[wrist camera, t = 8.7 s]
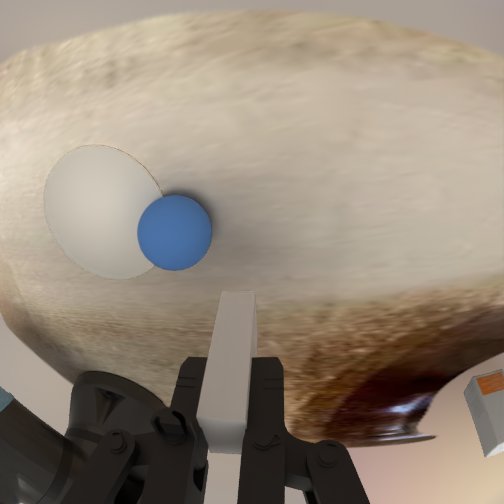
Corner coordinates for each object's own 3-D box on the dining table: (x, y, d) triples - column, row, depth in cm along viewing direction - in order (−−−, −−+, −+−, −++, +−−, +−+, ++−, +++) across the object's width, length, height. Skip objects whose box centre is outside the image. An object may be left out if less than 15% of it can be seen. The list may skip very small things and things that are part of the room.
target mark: (105, 297, 31) (104, 298, 31) (25, 201, 26) (24, 202, 25) (200, 238, 26) (199, 239, 26) (104, 112, 21) (103, 113, 21)
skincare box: (502, 367, 34) (531, 430, 23) (492, 384, 36) (516, 446, 26) (471, 375, 34) (498, 445, 24) (461, 393, 37) (484, 459, 26)
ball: (219, 277, 24) (179, 252, 28) (233, 206, 23) (189, 189, 26) (156, 288, 20) (122, 257, 24) (166, 204, 19) (129, 187, 22)
